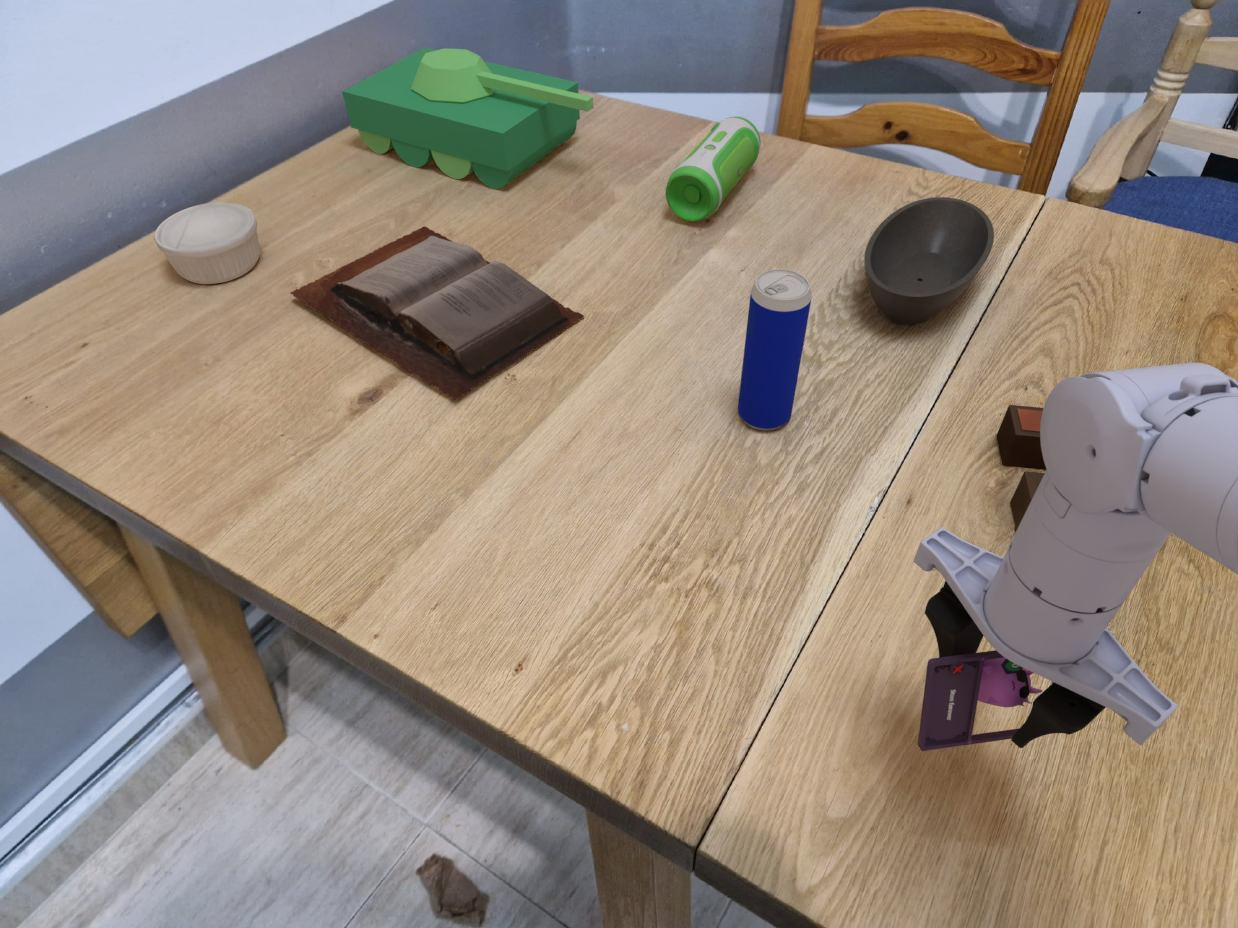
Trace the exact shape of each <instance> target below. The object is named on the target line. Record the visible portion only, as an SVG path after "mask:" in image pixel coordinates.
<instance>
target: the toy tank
mask: <svg viewBox="0 0 1238 928" xmlns="http://www.w3.org/2000/svg"><path fill="white" fill-rule="evenodd" d="M342 96H343V101H344V105H345V108H346V112H347V113H346V114H347V117H348V120H349V124H350V128H351V129H355V130H358V134H359V135H360V138H361V139H362V141H363V142H364V144H365V145H366V147H368V148H369V149H370V150H371V151H372V152H374V153H376V154H380V155H381V154H383V155H384V154H385V153H387V152H388V151H390V150H392V149H394V151H395V153H396V154H397V156H398V157H399V158H400V159H401V160H402V161H403V162H404V163H406V164H407V165H409V166H410V167H414V168H420V167H423V166H425V165H426V164H429V163H430V162H431V161H434V162H435V164H436V166H437V167H438V168H439V170H440V171H441V172H442V173H443V174H445V175H446V176H447V177H449V178H451V179H454V180H455V179H456V180H462V179H464V178H466V177H467V176H469V175H470V174H472V173H473V172H474V174H475V176H476V177H477V178H478V180H479V181H480V182H481V183H482V184H484V185H485V186H486V187H489V188H490V189H495V190H499V189H502V188H504V187H505V186H507V185H508V184H509V183H511V182H512V181H514V180H515V179H516V178H518V177H519V176H521V175H522V174H523V173H524V172H526V171H528V170H529V169H530V168H532V167H533V166H534V165H536V164H537V163H538V162H539V161H541V160H542V159H544V158H545V157H546V156H548V155H550V154H551V153H552V152H553V151H555V150H556V149H557V148H559V147H560V146H562V145H563V144H564V143H566V142H567V141H569V140H570V139H571V138H572V137H574V134H575V132H576V129H577V125H578V121H579V120H580V119H581V115H580V112H581V111H583V112H587V113H588V112H590V111H591V110H592V109H594V97H593V96H590V95H586V94H581V93H580V92H579V82H578V81H573V80H568V79H564V78H559V77H556V76H552V75H547V74H542V73H538V72H534V71H529V70H526V69H521V68H517V67H512V66H508V65H503V64H498V63H494V62H490V61H485V60H484V59H483V58H482V57H481V56H480V55H479V54H477V53H475V52H472V51H471V50H469V49H466V48H465V49H463V48H446V47H445V48H441V49H437V50H436V49H433V48H429V47H423V48H421V49H419V50H418V51H415V52H413V53H412V54H409V55H408V56H406V57H404V58H402V59H400V60H399V61H396V62H395V63H393V64H391V65H389V66H387V67H385V68H383V69H382V70H380V71H377V72H375V73H373V74H372V75H370V76H368V77H366V78H365V79H362V80H361V81H359V82H357V83H355V84H353V85H352V86H349V87H347V88H346V89H344V90H342Z"/></svg>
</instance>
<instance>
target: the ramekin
mask: <svg viewBox="0 0 1238 928" xmlns="http://www.w3.org/2000/svg"><path fill="white" fill-rule="evenodd" d="M257 228H258V220H257V218H256V215H255V213H254V212H253V211H252V210H251V209H250V208H249V207H247V206H244V205H242V204H239V203H233V202H227V201H226V202H225V201H220V202H219V201H217V202H208V203H201V204H197V205H193V206H190V207H187V208H185V209H182V210H179V211H177V212H175V213H173V214H171V215H169V216H168V217H167V218H166V219H165V220H163V221H162V222H161V223H160V224H159V225H158V226H157V228H156V230H155V231H154V236H153V238H154V239H153V240H154V242H155V244H156V246H157V248H158V250H160V252H162V253H163V254H164V256H165V257H166V259H167V260H168V262H169V263H170V265H172V267H173V268H174V270H175V271H176V272H177V274H178V275H179V276H180V277H182V278H183V279H185V280H187V281H188V282H191V283H194V284H198V285H215V284H222V283H226V282H229V281H234V280H235V279H237V278H240V277H242V276H244V275H246V274H247V273H249V272H250V271H251V270H252V269H253V268H254V267H255V266H256V264H257V263H258V260H259V259H260V256H261V248H260V241H259V235H258V229H257Z"/></svg>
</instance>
